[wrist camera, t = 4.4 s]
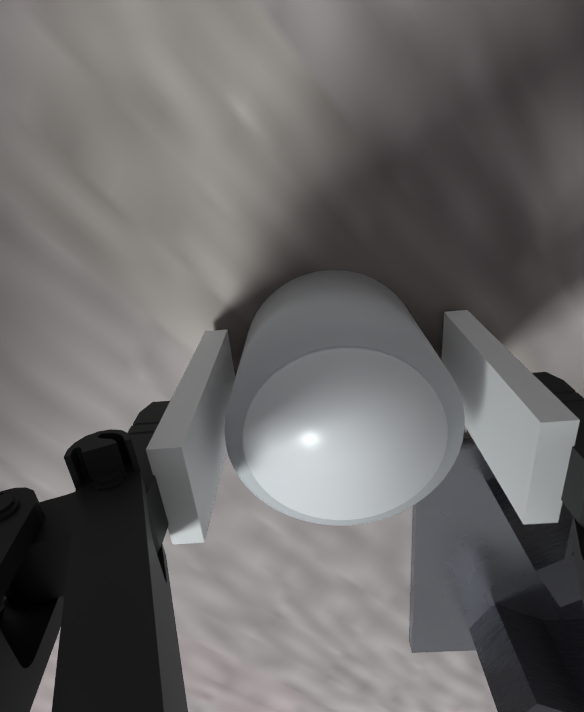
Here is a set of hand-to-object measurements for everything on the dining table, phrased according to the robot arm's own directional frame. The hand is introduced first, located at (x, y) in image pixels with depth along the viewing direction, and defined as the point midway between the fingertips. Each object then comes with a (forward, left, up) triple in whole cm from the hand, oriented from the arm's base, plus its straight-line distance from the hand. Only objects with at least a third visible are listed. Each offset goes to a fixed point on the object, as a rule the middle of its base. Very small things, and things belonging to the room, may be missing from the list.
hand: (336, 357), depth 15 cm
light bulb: (0, 0, 0) cm, 0 cm away
